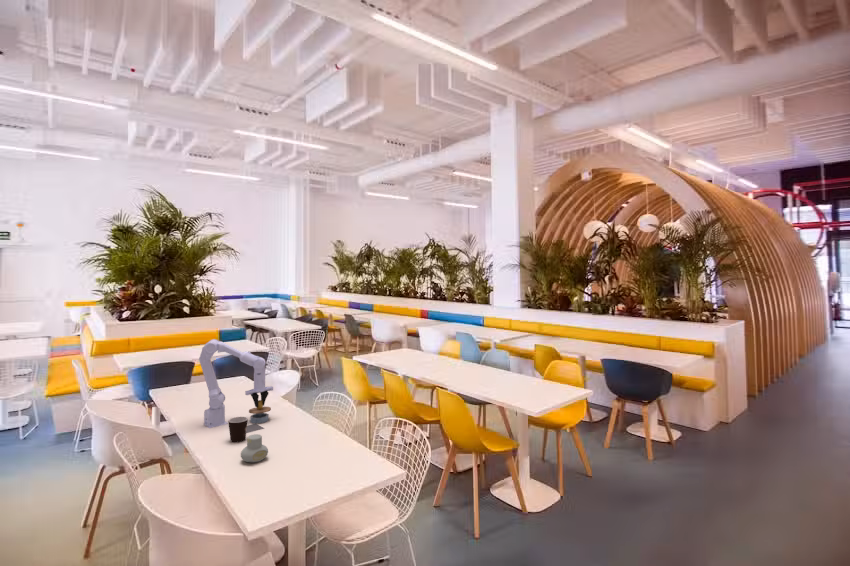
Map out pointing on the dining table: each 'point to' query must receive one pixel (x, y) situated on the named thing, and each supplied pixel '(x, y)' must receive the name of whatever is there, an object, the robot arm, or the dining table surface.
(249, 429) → the mat
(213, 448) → the dining table surface
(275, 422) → the dining table surface
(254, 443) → the air freshener
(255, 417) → the bowl
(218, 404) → the robot arm
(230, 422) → the coffee mug
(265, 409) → the lid
